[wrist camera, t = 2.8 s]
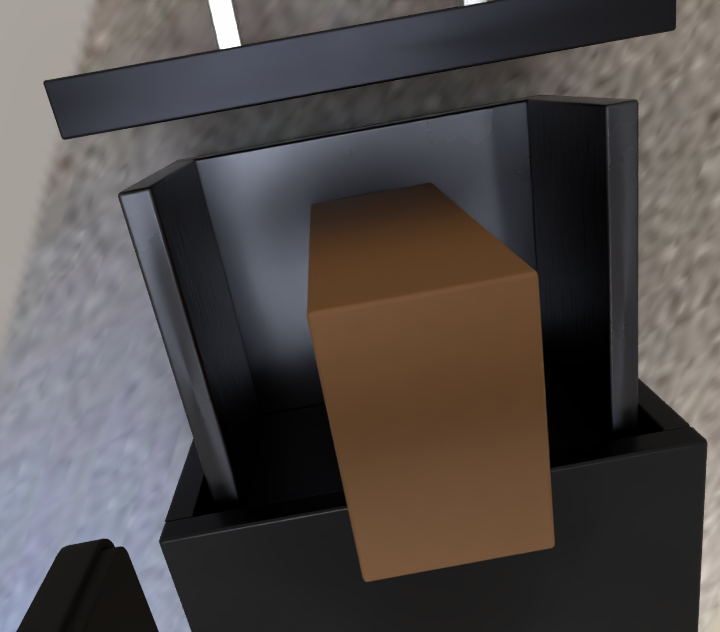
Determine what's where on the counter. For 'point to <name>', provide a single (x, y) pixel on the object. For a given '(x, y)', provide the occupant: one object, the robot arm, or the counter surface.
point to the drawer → (366, 176)
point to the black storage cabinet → (472, 580)
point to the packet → (430, 381)
